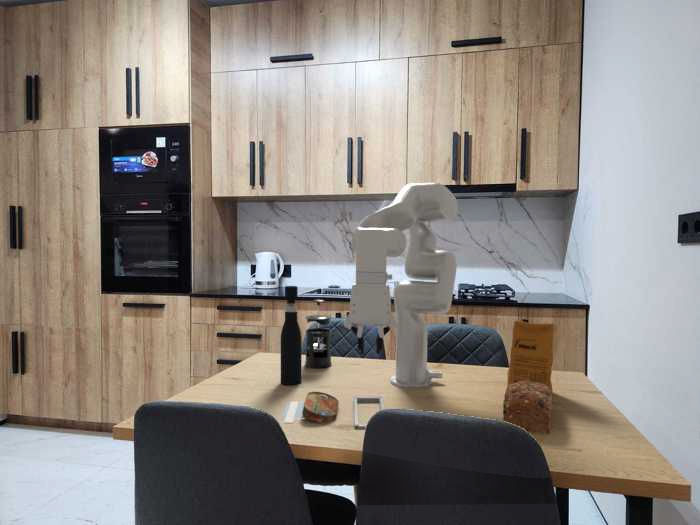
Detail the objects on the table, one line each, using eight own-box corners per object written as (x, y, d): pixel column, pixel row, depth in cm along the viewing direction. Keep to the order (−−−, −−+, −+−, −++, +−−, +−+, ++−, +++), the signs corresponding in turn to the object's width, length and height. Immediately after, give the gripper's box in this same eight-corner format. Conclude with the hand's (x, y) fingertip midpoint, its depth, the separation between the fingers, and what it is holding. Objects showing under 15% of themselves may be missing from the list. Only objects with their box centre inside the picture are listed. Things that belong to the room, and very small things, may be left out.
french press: (320, 369, 161) (321, 302, 160) (298, 365, 166) (298, 300, 165) (339, 361, 171) (339, 298, 170) (317, 358, 176) (317, 296, 175)
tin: (335, 418, 112) (301, 407, 112) (331, 431, 112) (297, 419, 112) (340, 397, 127) (310, 386, 127) (336, 408, 127) (306, 397, 127)
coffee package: (511, 389, 142) (513, 316, 141) (555, 397, 136) (558, 321, 134) (502, 399, 134) (504, 321, 133) (549, 407, 127) (552, 326, 126)
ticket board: (317, 407, 126) (317, 401, 126) (313, 428, 112) (313, 422, 112) (287, 406, 126) (287, 401, 126) (279, 428, 112) (279, 422, 112)
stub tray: (382, 405, 128) (382, 397, 128) (387, 435, 109) (388, 426, 108) (353, 404, 128) (353, 396, 128) (354, 435, 109) (354, 426, 108)
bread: (550, 446, 104) (551, 401, 104) (500, 437, 109) (501, 394, 108) (551, 416, 121) (552, 378, 121) (507, 410, 126) (508, 373, 125)
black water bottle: (291, 388, 142) (291, 288, 140) (276, 383, 146) (276, 286, 144) (305, 382, 147) (306, 286, 145) (290, 378, 151) (291, 284, 149)
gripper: (402, 277, 120) (401, 349, 121) (337, 277, 120) (337, 348, 121) (406, 280, 113) (405, 356, 114) (336, 279, 113) (336, 356, 114)
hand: (370, 352), depth 117 cm, fingers open, 3 cm apart
